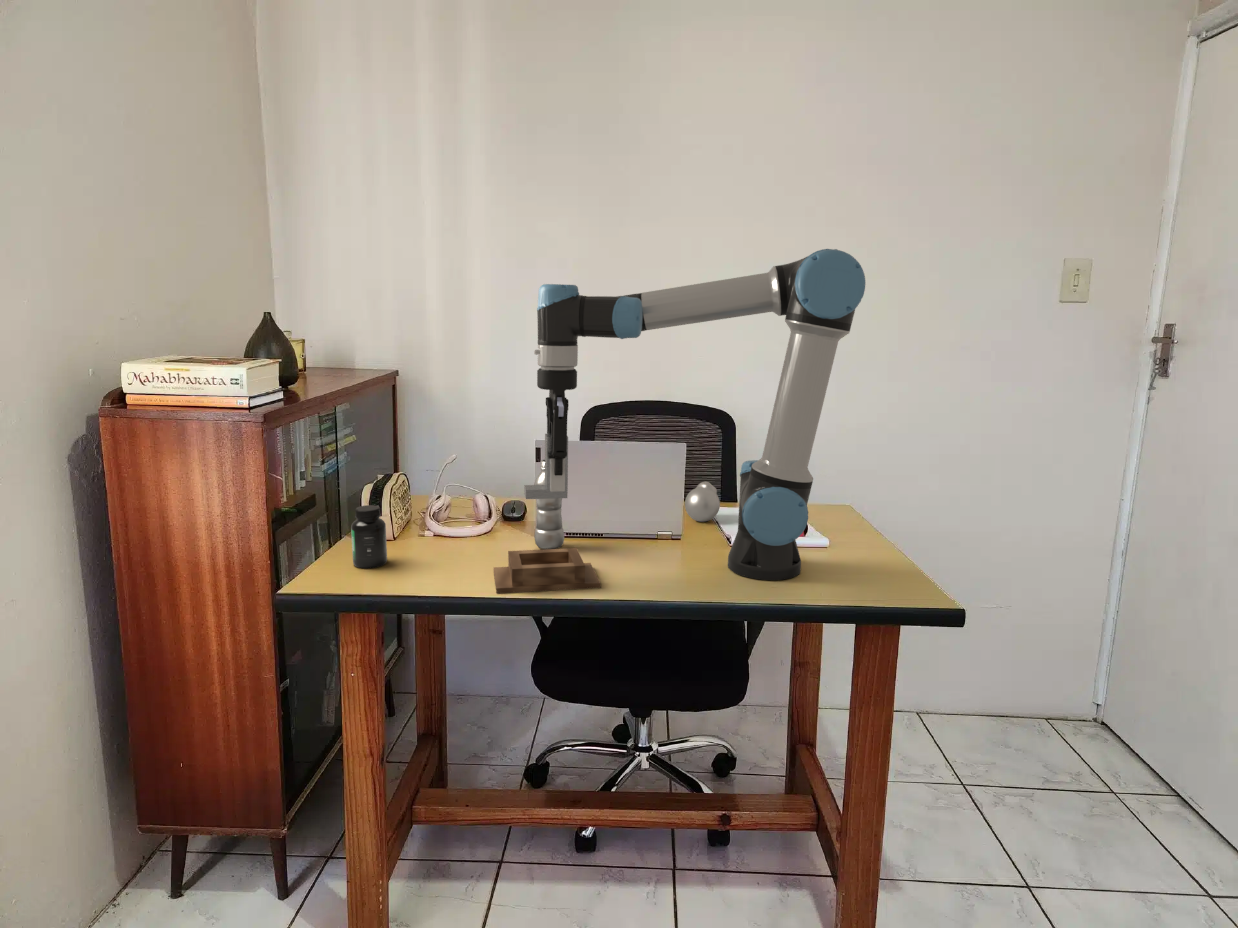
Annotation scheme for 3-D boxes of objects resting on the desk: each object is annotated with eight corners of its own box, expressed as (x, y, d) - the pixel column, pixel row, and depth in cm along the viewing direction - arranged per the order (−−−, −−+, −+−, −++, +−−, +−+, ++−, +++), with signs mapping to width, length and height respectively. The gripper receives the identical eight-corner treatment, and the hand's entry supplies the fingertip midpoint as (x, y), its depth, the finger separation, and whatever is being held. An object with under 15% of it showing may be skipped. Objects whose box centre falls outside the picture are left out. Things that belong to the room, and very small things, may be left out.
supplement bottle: (349, 569, 163) (346, 512, 160) (358, 558, 169) (355, 503, 167) (383, 569, 163) (380, 512, 161) (390, 558, 170) (388, 503, 167)
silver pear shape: (728, 522, 202) (730, 484, 199) (698, 527, 197) (700, 488, 195) (705, 514, 209) (707, 477, 207) (676, 518, 204) (678, 480, 202)
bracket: (564, 493, 158) (565, 433, 155) (567, 498, 154) (568, 437, 152) (524, 494, 156) (524, 433, 154) (525, 499, 153) (526, 437, 150)
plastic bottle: (559, 553, 175) (560, 464, 171) (530, 551, 176) (529, 462, 172) (567, 545, 181) (568, 458, 177) (539, 542, 182) (538, 457, 178)
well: (590, 567, 166) (590, 546, 165) (600, 587, 155) (600, 565, 154) (493, 571, 162) (493, 550, 162) (496, 593, 151) (496, 570, 150)
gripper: (533, 363, 158) (532, 478, 163) (542, 372, 142) (541, 499, 146) (570, 364, 159) (569, 477, 164) (583, 372, 143) (581, 498, 148)
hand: (556, 487), depth 155 cm, fingers closed on bracket, 4 cm apart
